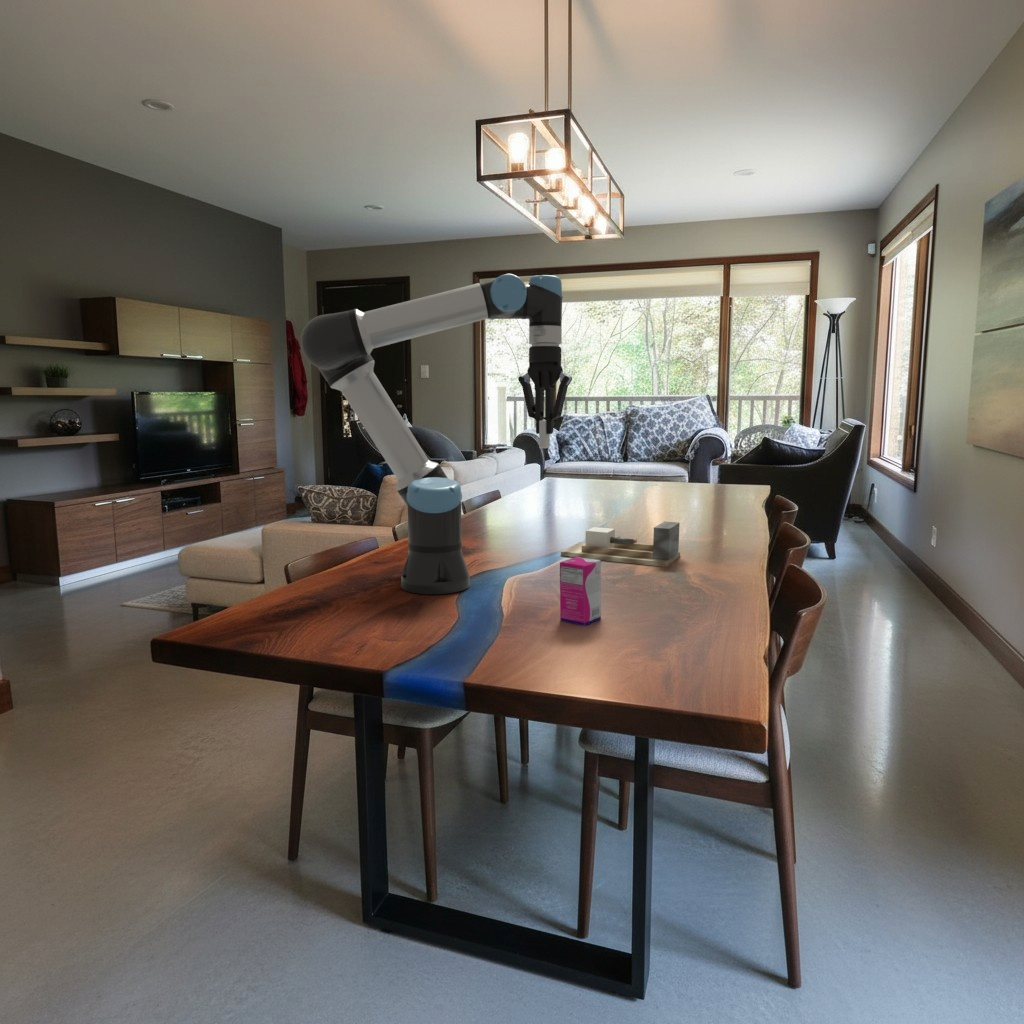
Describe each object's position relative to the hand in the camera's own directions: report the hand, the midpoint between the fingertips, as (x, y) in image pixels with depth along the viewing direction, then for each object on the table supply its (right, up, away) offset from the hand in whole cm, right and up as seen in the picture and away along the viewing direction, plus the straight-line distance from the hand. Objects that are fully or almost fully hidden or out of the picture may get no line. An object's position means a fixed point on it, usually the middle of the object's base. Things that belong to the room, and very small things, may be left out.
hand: (544, 447), depth 178 cm
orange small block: (+25, -24, +24) cm, 43 cm away
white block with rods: (+19, -25, +23) cm, 39 cm away
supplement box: (+5, -36, -35) cm, 50 cm away
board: (+21, -27, +20) cm, 39 cm away
